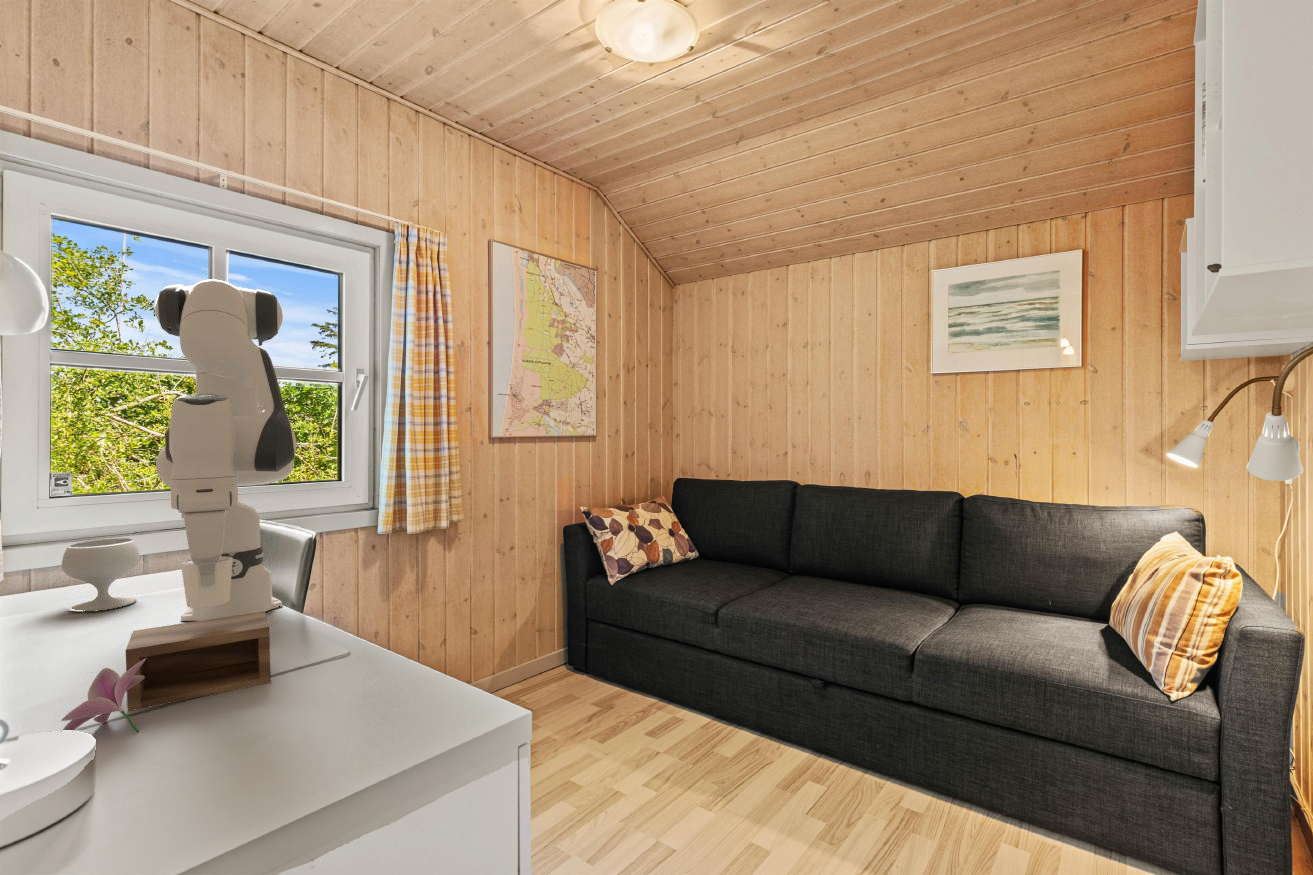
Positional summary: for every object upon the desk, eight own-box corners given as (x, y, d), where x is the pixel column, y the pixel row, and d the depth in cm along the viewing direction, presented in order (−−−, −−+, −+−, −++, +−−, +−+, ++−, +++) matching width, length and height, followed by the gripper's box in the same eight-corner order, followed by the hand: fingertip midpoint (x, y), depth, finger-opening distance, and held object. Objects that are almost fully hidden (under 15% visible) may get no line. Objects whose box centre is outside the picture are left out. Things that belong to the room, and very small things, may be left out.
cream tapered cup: (207, 609, 101) (206, 564, 101) (171, 608, 103) (169, 563, 103) (244, 598, 108) (243, 555, 108) (209, 596, 110) (207, 554, 110)
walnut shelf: (135, 686, 105) (133, 630, 105) (266, 662, 115) (264, 611, 115) (127, 711, 96) (125, 649, 96) (270, 682, 106) (269, 626, 106)
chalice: (62, 606, 154) (60, 542, 154) (138, 595, 164) (136, 535, 163) (63, 618, 144) (61, 550, 144) (144, 606, 154) (142, 542, 153)
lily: (162, 713, 98) (125, 659, 97) (192, 698, 91) (153, 641, 90) (67, 775, 87) (24, 715, 87) (93, 763, 81) (48, 699, 80)
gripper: (183, 492, 112) (185, 572, 112) (177, 502, 95) (181, 597, 95) (227, 489, 116) (229, 567, 116) (229, 498, 99) (232, 590, 99)
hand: (207, 581), depth 106 cm, fingers closed on cream tapered cup, 5 cm apart
